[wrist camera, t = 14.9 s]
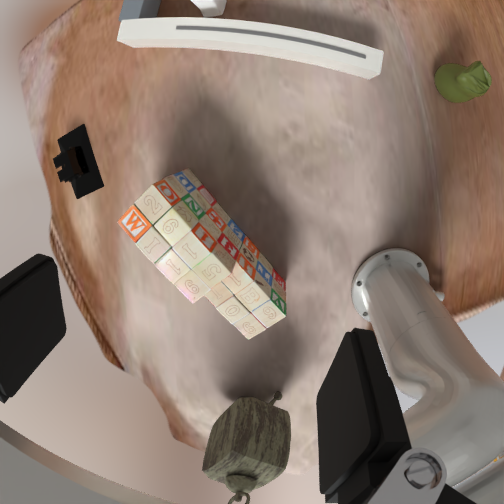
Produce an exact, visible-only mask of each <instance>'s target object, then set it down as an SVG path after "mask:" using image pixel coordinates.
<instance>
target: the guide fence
mask: <svg viewBox="0 0 504 504" xmlns="http://www.w3.org/2000/svg"><path fill="white" fill-rule="evenodd" d="M160 2H161V0H124V2H123V6H122V9H121V13H120V17H119V21H120V22H121V25H120V29H119V33H118V37H117V41H119V42H122V43H124V44H126V45H129V46H131V47H133V48H138V47H177V48H200V49H214V50H225V51H234V52H243V53H251V54H258V55H265V56H271V57H277V58H283V59H288V60H293V61H298V62H303V63H308V64H312V65H317V66H321V67H325V68H329V69H333V70H337V71H341V72H345V73H348V74H352V75H355V76H359V77H362V78H365V79H368V80H370V79H371V78H373V77H375V76H377V75H379V74H380V72H381V66H382V60H383V53H384V51H381V50H378V49H375V48H372V47H369V46H366V45H362V44H359V43H356V42H352V41H349V40H345V39H341V38H338V37H334V36H330V35H325V34H321V33H317V32H312V31H308V30H303V29H297V28H292V27H286V26H280V25H274V24H267V23H260V22H252V21H243V20H232V19H218V18H195V17H165V18H156V17H157V13H158V10H159V6H160Z"/></svg>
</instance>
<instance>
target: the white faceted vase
mask: <svg viewBox="0 0 504 504" xmlns="http://www.w3.org/2000/svg"><path fill="white" fill-rule="evenodd" d="M191 1H192V2H193V3H194V4H195V5H196V6H197V7H198V8H199V9H200V11H201V13H202V15H203V17H205V18H206V17H212V16H219V15H222V14H223V12H224V8H225V5H226V2H227V0H191Z"/></svg>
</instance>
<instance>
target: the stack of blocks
mask: <svg viewBox="0 0 504 504" xmlns="http://www.w3.org/2000/svg"><path fill="white" fill-rule="evenodd" d="M117 223H118V224H119V225H120V226H121V227H122V228H123V230H124V231H125V232H126V233H127V234H128V235H129V236H130V237H131V239H132V240H133V241H134V242H136V246H137V247H138V248H139V249H140V250H141V251H142V252H143V253H144V254H145V256H146V257H147V258H148V259H149V260H150V261H151V262H152V263H155V266H156V267H157V268H158V270H159V271H160V272H161V273H162V274H163V275H164V276H165V277H166V278H167V279H168V280H169V281H170V282H171V283H173V284H174V285H175V287H176V288H177V289H178V290H179V291H180V292H181V293H182V294H183V295H184V296H185V297H186V298H187V299H189V300H190V301H191V302H192V303H194V302H196V301H197V300H198V299H200V298H201V297H202V296H205V297H206V298H207V299H208V300H209V301H210V302H211V303H212V304H213V305H214V306H215V307H216V309H217V310H218V311H219V312H220V313H221V314H222V315H223V316H224V317H225V318H226V319H227V320H228V321H229V322H230V323H231V324H233V325H234V326H235V327H236V328H237V329H238V330H239V331H240V332H241V333H242V334H243V335H244V336H245V337H246V338H247V339H248V340H249V339H251V338H252V337H254V336H256V335H257V334H259V333H261V332H263V331H264V330H266V329H267V328H268V327H270V326H272V325H273V324H275V323H277V322H278V321H280V320H281V319H283V318H285V317H286V292H285V290H286V282H285V281H284V280H283V279H282V278H281V276H280V275H279V274H278V273H277V272H276V271H275V270H274V268H273V266H272V265H271V264H270V263H269V262H268V260H267V259H266V258H265V257H264V256H263V255H262V254H261V252H259V250H258V249H257V248H256V246H255V245H254V244H253V243H252V242H251V240H250V239H249V238H248V237H247V236H245V234H244V233H243V232H242V231H241V230H240V228H239V227H238V226H237V225H236V224H235V223H234V221H233V220H232V219H231V218H230V217H229V216H228V215H227V213H226V212H225V211H224V210H223V209H222V208H221V206H220V205H219V204H218V203H217V201H216V200H215V199H214V197H213V196H212V195H211V194H210V193H209V192H208V190H207V189H206V188H205V187H204V186H203V185H202V183H201V182H200V181H199V180H198V179H197V177H196V176H195V175H194V174H193V173H192V172H191V170H190V169H189V168H187V169H185V170H183V171H181V172H178V173H176V174H173V175H169V176H167V177H165V178H163V179H162V180H161V181H159V182H156V183H154V184H152V185H151V186H150V187H149V188H148V189H147V190H146V191H145V192H144V193H143V194H142V195H141V196H140V197H139V198H138V199H137V200H136V201H135V204H133V205H132V206H131V207H130V208H129V209H128V210H127V211H126V212H125V213H124V215H123V216H122V217H121V218H120V219H119V220H118V222H117Z"/></svg>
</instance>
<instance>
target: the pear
mask: <svg viewBox="0 0 504 504" xmlns="http://www.w3.org/2000/svg"><path fill="white" fill-rule="evenodd" d="M434 81H435V85H436V88H437V90H438V91H439V93H440V94H441V95H442V96H443V97H444V98H445V99H447V100H448V101H450V102H454V103H462V102H466V101H469V100H471V99H473V98H474V97H480V96H482V95H484V94H485V93H486V92H487V90H488V89H489V87H490V85H491V76H490V74H489V73H488V72H487V71H486V69H485V68H484V67H483V65H482V63H481V62H480V61H475V62H474V63H472V64H471V65H470V66H469V67H465V66H462V65H459V64H454V63H448V64H444V65H442V66H441V67H439V68H438V70H437V71H436V73H435V77H434Z"/></svg>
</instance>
